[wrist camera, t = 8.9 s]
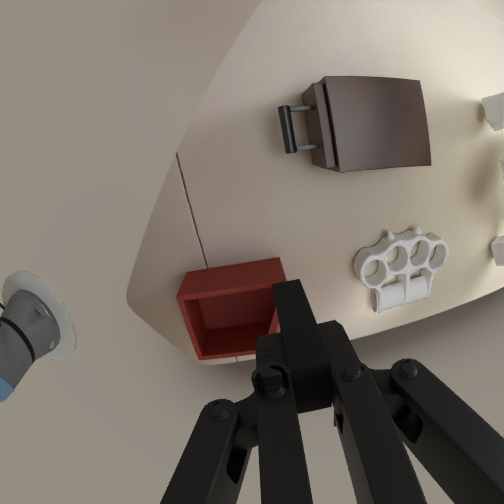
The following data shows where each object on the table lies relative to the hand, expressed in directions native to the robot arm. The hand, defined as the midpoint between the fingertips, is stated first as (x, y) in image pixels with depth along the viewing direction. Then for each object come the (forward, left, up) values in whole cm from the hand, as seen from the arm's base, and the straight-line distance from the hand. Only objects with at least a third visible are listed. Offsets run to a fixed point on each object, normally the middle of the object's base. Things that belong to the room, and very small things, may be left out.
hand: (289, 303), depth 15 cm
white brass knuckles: (+25, -7, -27) cm, 37 cm away
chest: (-2, -15, -27) cm, 31 cm away
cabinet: (+13, +14, -27) cm, 33 cm away
